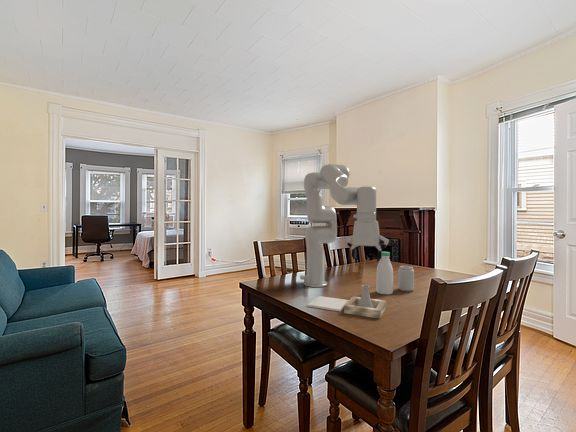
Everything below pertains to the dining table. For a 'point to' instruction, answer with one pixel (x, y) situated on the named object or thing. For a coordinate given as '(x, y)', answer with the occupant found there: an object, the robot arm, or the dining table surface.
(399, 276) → the can
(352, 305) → the holder
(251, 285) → the dining table surface
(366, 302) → the flask
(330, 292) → the dining table surface
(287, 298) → the dining table surface
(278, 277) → the dining table surface
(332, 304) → the plate
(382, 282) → the milk bottle
